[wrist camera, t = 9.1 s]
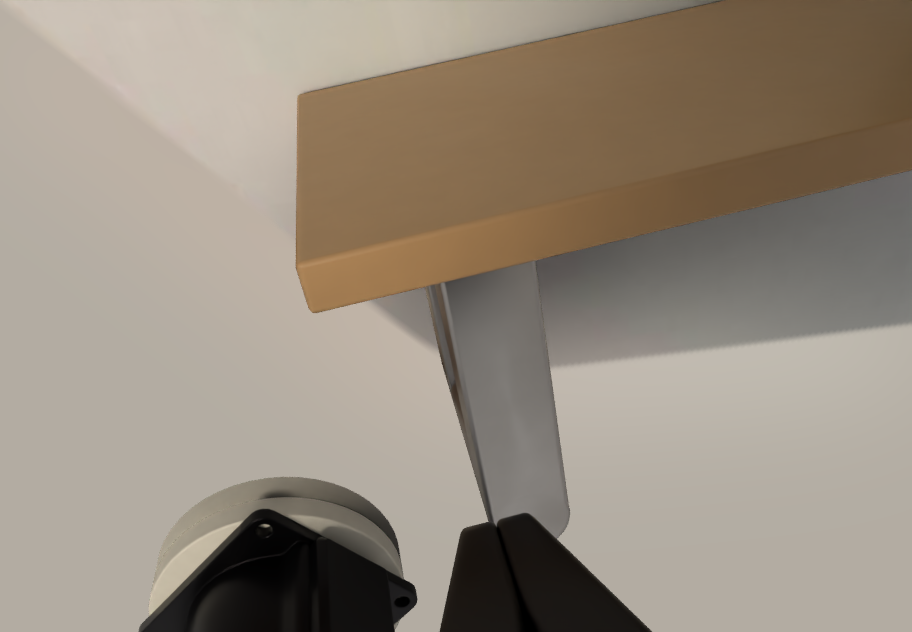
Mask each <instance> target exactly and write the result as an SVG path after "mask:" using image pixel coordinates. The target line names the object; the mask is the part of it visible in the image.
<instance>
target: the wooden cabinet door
mask: <svg viewBox="0 0 912 632" xmlns="http://www.w3.org/2000/svg"><path fill="white" fill-rule="evenodd" d="M911 170H912V0H724V1H720V2H715V3H711V4H706V5H702V6H697V7H693V8H688V9H684V10H679V11H675V12H670V13H666V14H661V15H657V16H652V17H648V18H643V19H639V20H634V21H630V22H625V23H620V24H616V25H611V26H607V27H602V28H598V29H593V30H589V31H584V32H580V33H575V34H571V35H566V36H562V37H557V38H553V39H548V40H544V41H539V42H535V43H530V44H526V45H521V46H517V47H512V48H507V49H503V50H498V51H494V52H489V53H485V54H480V55H476V56H471V57H467V58H462V59H458V60H453V61H449V62H444V63H440V64H435V65H431V66H426V67H422V68H417V69H413V70H408V71H403V72H399V73H394V74H390V75H385V76H381V77H376V78H372V79H367V80H363V81H358V82H354V83H349V84H345V85H340V86H336V87H331V88H327V89H322V90H318V91H313V92H309V93H304V94H300V95H298V98H297V193H296V270H297V273H298V276H299V279H300V283H301V286H302V289H303V292H304V295H305V298H306V302H307V304H308V308H309V309H310V311H311V312H312V313H318V312H322V311H326V310H331V309H335V308H339V307H343V306H347V305H351V304H356V303H360V302H364V301H368V300H373V299H377V298H381V297H385V296H389V295H393V294H398V293H402V292H406V291H410V290H414V289H418V288H423V287H425V290H426V294H427V299H428V303H429V308H430V312H431V317H432V321H433V326H434V330H435V335H436V339H437V344H438V348H439V353H440V357H441V361H442V365H443V369H444V372H445V375H446V379H447V382H448V385H449V389H450V392H451V396H452V399H453V403H454V406H455V409H456V413H457V416H458V419H459V423H460V426H461V430H462V433H463V436H464V440H465V443H466V447H467V450H468V453H469V456H470V460H471V463H472V467H473V470H474V474H475V477H476V480H477V484H478V487H479V491H480V494H481V497H482V501H483V504H484V507H485V511H486V514H487V517H488V521H489V522H493V523H494V524H496V527H497V522H498V521H499V519H501V518H505V517H509V516H513V515H517V514H521V513H529V514H531V515H532V516H533V517H535V518H536V519H537V520H538V521H539V522H540V523H541V524H542V525H543V526H544V527H545V528H546V529H547V530H548V531H549V532H550V533H551V534H552V535H553V536H554V537H555V538H556V539H557V538H558V537H559V536H560V535H561V534H562V533H563V532H564V530H565V528H566V527H567V524H568V521H569V517H570V509H569V505H568V497H567V489H566V482H565V475H564V467H563V460H562V453H561V446H560V438H559V431H558V424H557V416H556V409H555V401H554V394H553V387H552V380H551V372H550V365H549V357H548V350H547V343H546V335H545V328H544V321H543V313H542V306H541V298H540V291H539V284H538V276H537V269H536V262H535V260H539V259H544V258H548V257H552V256H556V255H560V254H564V253H569V252H573V251H577V250H581V249H585V248H589V247H594V246H598V245H602V244H606V243H610V242H614V241H619V240H623V239H627V238H631V237H635V236H639V235H644V234H648V233H652V232H656V231H660V230H665V229H669V228H673V227H677V226H681V225H685V224H690V223H694V222H698V221H702V220H706V219H710V218H715V217H719V216H723V215H727V214H731V213H735V212H740V211H744V210H748V209H752V208H756V207H760V206H765V205H769V204H773V203H777V202H781V201H785V200H790V199H794V198H798V197H802V196H806V195H810V194H815V193H819V192H823V191H827V190H831V189H836V188H840V187H844V186H848V185H852V184H856V183H861V182H865V181H869V180H873V179H877V178H881V177H886V176H890V175H894V174H898V173H902V172H906V171H911Z"/></svg>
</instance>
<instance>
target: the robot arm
mask: <svg viewBox="0 0 912 632" xmlns="http://www.w3.org/2000/svg"><path fill="white" fill-rule="evenodd" d="M263 524H266V525H270V526H269V527H265V528H262V527H259V525H263ZM402 596H404V597H402ZM398 597H401V598H398ZM416 603H417V595H416V589H415V587H414V585H413V584H411V583H410V582H408V581H406V580H404V579H402V578H400V577H399V576H397V575H395V574H393V573H391V572H389V571H387V570H386V569H385V568H383V567H381V566H379V565H378V564H376V563H374V562H372V561H370V560H368V559H366V558H364V557H362V556H361V555H359V554H357V553H355V552H353V551H351V550H349V549H347V548H346V547H344V546H342V545H340V544H338V543H336V542H334V541H332V540H331V539H328V538H325V537H323V536H321V535H320V534H318V533H316V532H314V531H312V530H310V529H308V528H306V527H305V526H303V525H301V524H299V523H297V522H295V521H293V520H291V519H289V518H288V517H286V516H284V515H282V514H280V513H278V512H276V511H274V510H271V509H259V510H256V511H254V512H253V513H251V514H250V515H249V516H248V517H247V518H246V519H245V520H244V521H243V522H242V523H241V524H240V525H239V526H238V527H237V528H236V529H235V530H234V531H233V532H232V533H231V534H230V535H229V536H228V537H227V538H226V539H225V540H224V541H223V542H222V543H221V544H220V545H219V546H218V547H217V548H216V549H215V550H214V551H213V552H212V553H211V554H210V555H209V556H208V557H207V558H206V559H205V560H204V561H203V562H202V563H201V564H200V565H199V566H198V567H197V568H196V569H195V570H194V571H193V572H192V574H191V575H190V576H189V577H188V578H187V579H186V580H185V581H184V582H183V583H182V584H181V585H180V586H179V587H178V588H177V589H176V590H175V591H174V592H173V593H172V594H171V595H170V596H169V597H168V598H167V599H166V600H165V601H164V602H163V603H162V604H161V605H160V606H159V607H158V608H157V609H156V610H155V611H154V612H153V613H152V614H151V615H150V616H149V617H148V618H147V619H146V620H145V621H144V622H143V623H142V624H141V626H140V628H139V632H395V630H394V624H395V623H397V622H398V621H399V620H400V619H401V618H402V617H403V616H404V615H405V614H407V613H408V612H409V611H410V610H411V609H412V608H413V607H414V606H415V605H416ZM440 632H652V631H651V630H650V629H649V628H647V626H646V625H644V623H643V622H641V620H640V619H639V618H637V617H636V616H635V615H634V614H633V613H632V612H631V611H630V610H629V609H628V608H627V607H626V606H625V605H624V604H623V603H622V602H621V601H620V600H619V599H618V598H617V597H616V596H615V595H614V594H613V593H612V592H611V591H610V590H609V589H607V588H606V586H605V585H604V584H602V583H601V582H600V581H599V580H598V579H597V578H596V577H595V576H594V575H593V574H592V573H591V572H590V571H589V570H588V569H587V568H586V567H585V566H584V565H583V564H582V563H581V562H580V561H579V560H578V559H577V558H576V557H574V556H573V554H572V553H571V552H570V551H569V550H567V549H566V548H565V547H564V546H563V545H562V544H561V543H560V542H559V541H558V540H557V539H556V538H555V537H554V536H553V535H552V534H551V533H550V532H549V531H548V530H547V529H546V528H545V527H544V526H543V525H542V524H541V523H540V522H539V521H538V520H537V519H536V518H535V517H533V516H532V515H531V514H529V513H521V514H517V515H513V516H509V517H505V518H501V519H499V521H498V522H497V527H496V524H494V523H493V522H486V523H482V524H479V525H474V526H471V527H467V528H464V529H463V531H462V532H461V534H460V539H459V543H458V548H457V553H456V557H455V562H454V567H453V571H452V577H451V581H450V585H449V591H448V595H447V600H446V604H445V609H444V614H443V618H442V623H441V628H440Z"/></svg>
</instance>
